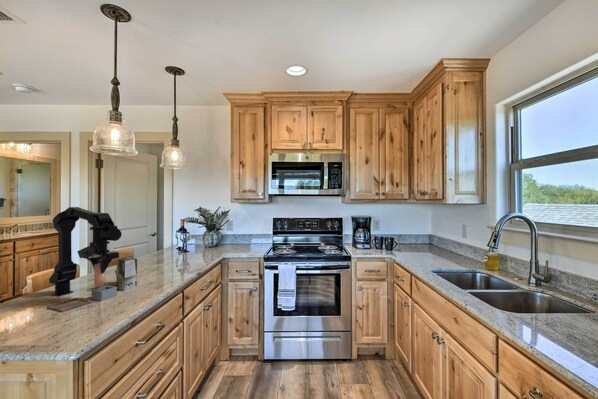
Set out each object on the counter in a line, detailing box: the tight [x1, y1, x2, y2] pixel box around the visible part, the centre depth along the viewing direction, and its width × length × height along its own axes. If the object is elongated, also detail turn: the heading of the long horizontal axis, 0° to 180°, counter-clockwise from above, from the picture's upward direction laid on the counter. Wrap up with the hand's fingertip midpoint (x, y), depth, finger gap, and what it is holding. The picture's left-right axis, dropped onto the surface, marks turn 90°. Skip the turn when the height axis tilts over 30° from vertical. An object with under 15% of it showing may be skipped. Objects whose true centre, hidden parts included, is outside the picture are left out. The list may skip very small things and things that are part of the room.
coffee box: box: [116, 256, 138, 292], centre depth 143 cm, size 9×6×16 cm
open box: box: [91, 285, 118, 302], centre depth 128 cm, size 7×7×5 cm
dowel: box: [93, 263, 106, 288], centre depth 127 cm, size 4×4×10 cm
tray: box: [46, 297, 93, 313], centre depth 118 cm, size 11×11×1 cm
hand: (99, 272), depth 127 cm, fingers closed on dowel, 4 cm apart
